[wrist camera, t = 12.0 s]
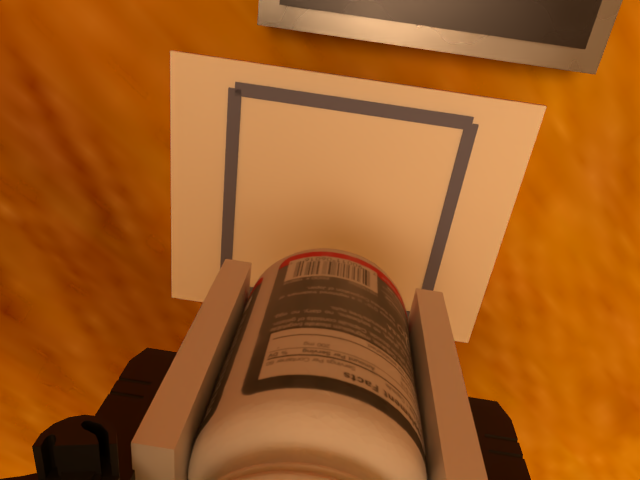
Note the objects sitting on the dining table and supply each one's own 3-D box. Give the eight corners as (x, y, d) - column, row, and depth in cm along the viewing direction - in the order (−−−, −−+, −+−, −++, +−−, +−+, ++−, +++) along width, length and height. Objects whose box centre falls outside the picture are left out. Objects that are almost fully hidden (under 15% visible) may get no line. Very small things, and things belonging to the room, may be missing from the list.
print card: (172, 295, 24) (170, 298, 24) (171, 50, 19) (169, 51, 19) (467, 340, 24) (468, 344, 24) (545, 105, 19) (547, 107, 19)
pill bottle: (319, 396, 17) (281, 725, 9) (217, 301, 15) (77, 599, 8) (439, 324, 15) (509, 657, 8) (337, 211, 14) (301, 481, 6)
